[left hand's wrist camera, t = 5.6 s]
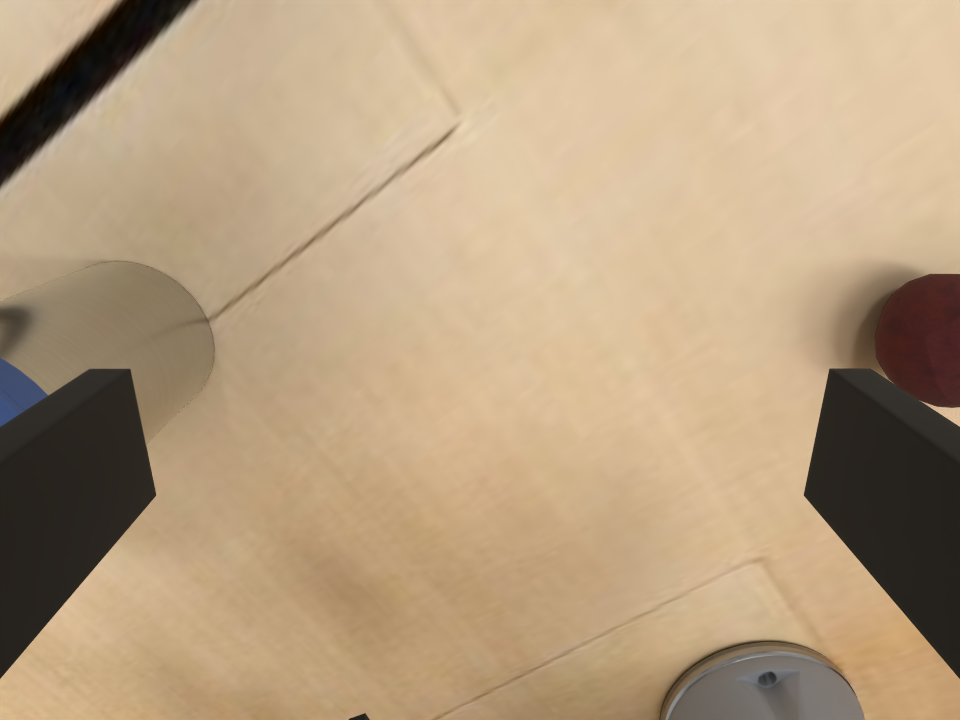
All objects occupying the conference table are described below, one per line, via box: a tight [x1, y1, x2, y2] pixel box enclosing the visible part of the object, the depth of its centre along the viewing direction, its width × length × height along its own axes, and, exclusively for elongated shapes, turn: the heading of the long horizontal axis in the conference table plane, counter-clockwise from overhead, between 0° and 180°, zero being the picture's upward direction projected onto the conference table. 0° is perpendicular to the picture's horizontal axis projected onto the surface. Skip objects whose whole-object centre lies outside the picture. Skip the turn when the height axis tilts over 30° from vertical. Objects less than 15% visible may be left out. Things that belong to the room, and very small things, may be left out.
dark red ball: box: [875, 274, 960, 408], centre depth 37 cm, size 7×8×7 cm
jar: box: [0, 261, 214, 444], centre depth 34 cm, size 10×10×17 cm
